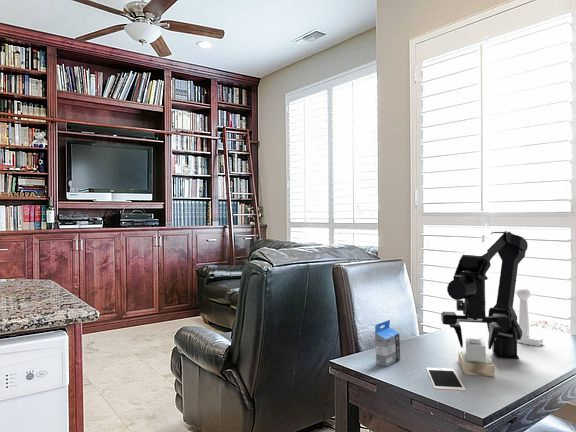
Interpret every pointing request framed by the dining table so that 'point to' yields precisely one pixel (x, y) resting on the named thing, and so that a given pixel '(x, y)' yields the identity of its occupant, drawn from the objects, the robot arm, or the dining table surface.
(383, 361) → the label tape box
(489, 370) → the stand
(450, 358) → the dining table surface
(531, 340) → the joystick
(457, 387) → the cell phone
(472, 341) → the box
